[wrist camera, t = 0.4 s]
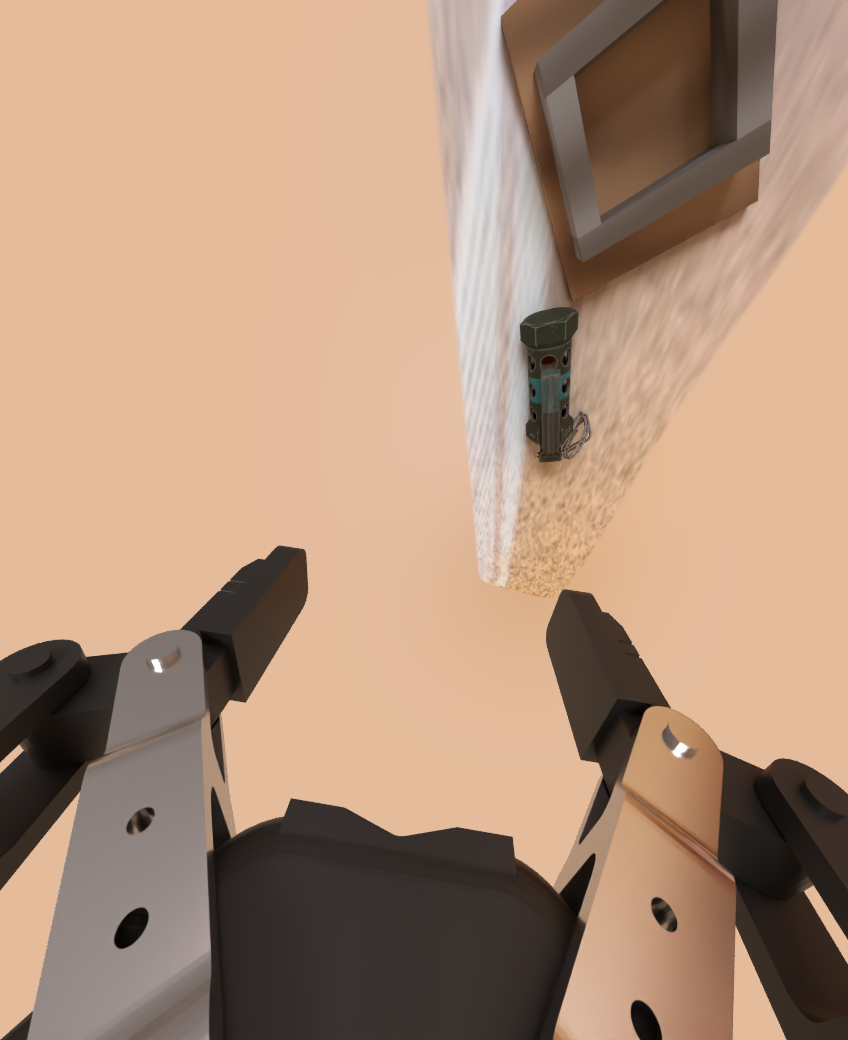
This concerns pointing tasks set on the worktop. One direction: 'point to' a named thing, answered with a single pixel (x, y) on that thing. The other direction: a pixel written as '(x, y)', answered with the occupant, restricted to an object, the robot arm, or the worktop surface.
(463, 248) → the worktop surface
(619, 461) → the worktop surface
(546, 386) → the stun grenade
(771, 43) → the socket board
